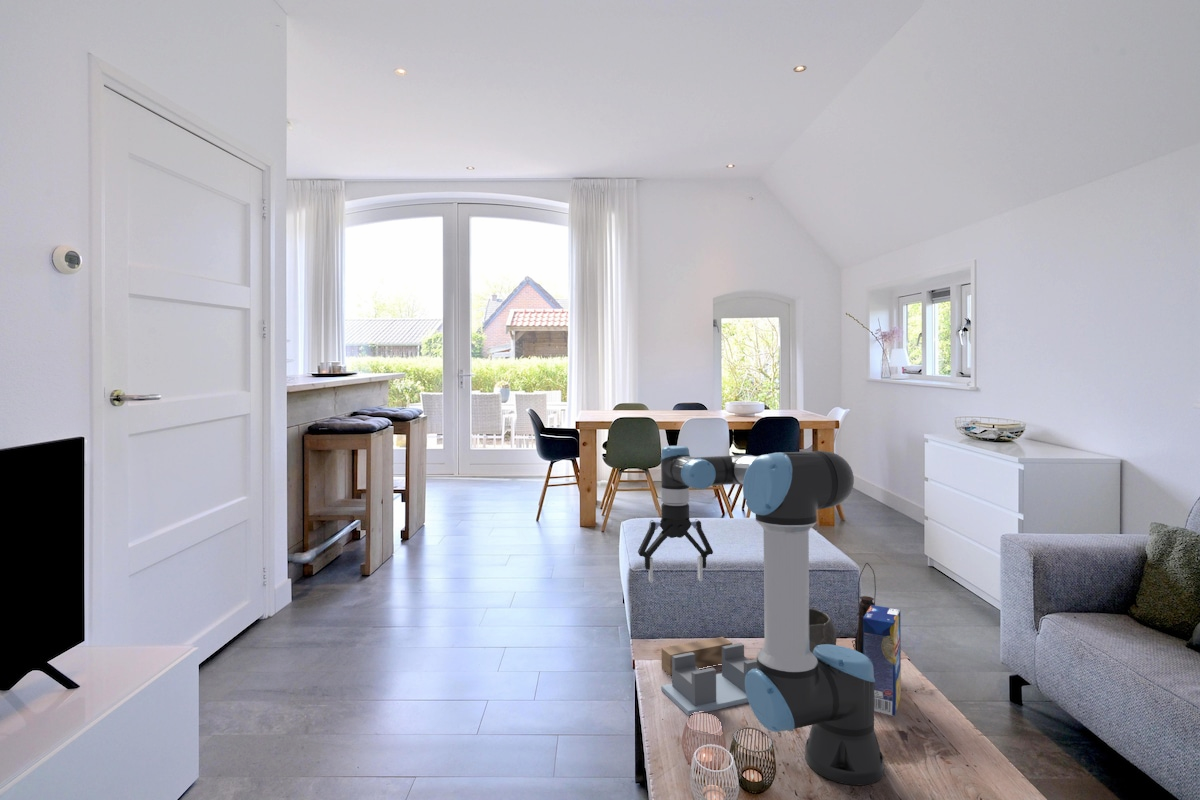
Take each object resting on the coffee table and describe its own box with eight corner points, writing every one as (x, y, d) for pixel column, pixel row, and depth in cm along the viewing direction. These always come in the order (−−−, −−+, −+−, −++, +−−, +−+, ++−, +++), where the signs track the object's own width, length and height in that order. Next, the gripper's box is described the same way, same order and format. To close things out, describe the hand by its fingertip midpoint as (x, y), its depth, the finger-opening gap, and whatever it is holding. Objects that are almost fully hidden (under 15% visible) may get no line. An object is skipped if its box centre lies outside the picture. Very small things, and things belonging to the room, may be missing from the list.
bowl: (846, 672, 172) (846, 626, 171) (779, 673, 172) (779, 626, 172) (823, 646, 189) (823, 604, 189) (763, 646, 190) (763, 604, 189)
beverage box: (900, 697, 158) (900, 609, 157) (894, 716, 148) (894, 623, 148) (871, 690, 161) (871, 604, 161) (863, 708, 152) (863, 618, 152)
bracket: (778, 695, 159) (778, 659, 159) (688, 715, 150) (688, 678, 150) (746, 672, 172) (745, 639, 172) (661, 690, 163) (660, 655, 162)
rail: (722, 657, 183) (722, 636, 183) (732, 663, 179) (732, 642, 178) (661, 669, 175) (661, 648, 175) (670, 677, 171) (670, 655, 171)
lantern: (886, 680, 167) (886, 567, 166) (854, 678, 168) (853, 566, 168) (879, 667, 174) (879, 559, 174) (848, 665, 176) (848, 558, 176)
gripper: (716, 499, 176) (716, 574, 177) (628, 501, 174) (628, 577, 175) (724, 504, 169) (724, 583, 169) (631, 506, 167) (631, 586, 167)
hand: (675, 580), depth 172 cm, fingers open, 13 cm apart
